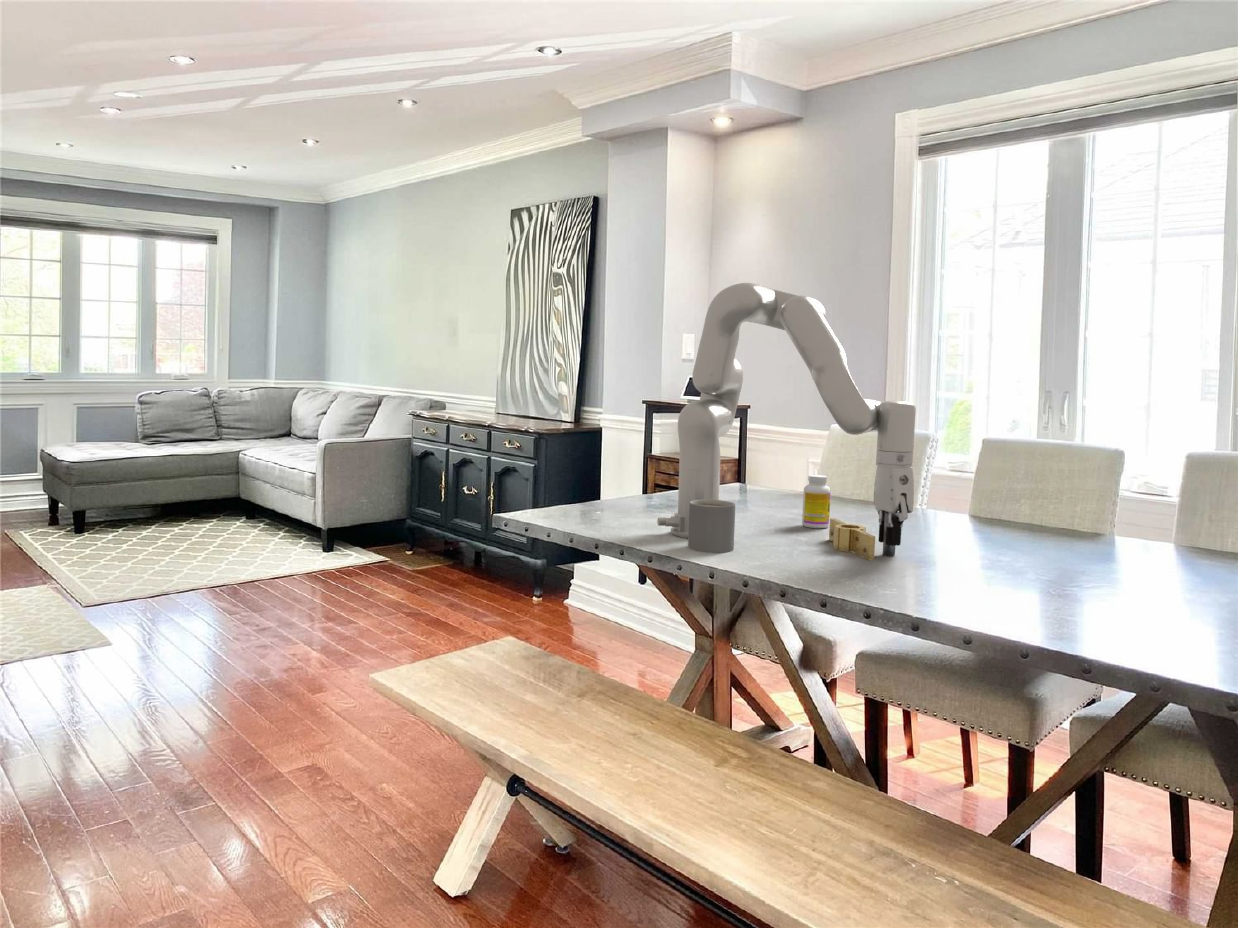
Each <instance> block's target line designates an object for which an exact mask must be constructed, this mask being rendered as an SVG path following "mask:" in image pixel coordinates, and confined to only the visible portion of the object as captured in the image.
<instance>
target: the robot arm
mask: <svg viewBox="0 0 1238 928" xmlns="http://www.w3.org/2000/svg"><path fill="white" fill-rule="evenodd" d="M826 318H827V313H826V309H825V307H824V306H823V304H822V303H821V301H819V300H817V299H815V298H813V297H809V296H807V295H797V294H793V293H789V292H785V291H782V290H781V291H780V290H777V289H773V288H771V287H765V286H763V285H760V284H757V283H752V282H741V283H736V284H732V285H730V286H727V287H725V288H723V289H722V290H720V291H719V292H718V293H717V294H716V295H715V296H714V297H713V299H712V301H711V302H710V303H709V306H708V309H707V311H706V315H705V318H704V324H703V327H702V333H701V337H700V341H699V344H698V349H697V352H696V357H695V361H694V366H693V370H692V378H691V380H692V384H693V386H694V388H695V389H696V390H697V391H698V392H699V393H700V397H699V399H697V400H693V401H690V402H688V403H687V404H685V406H684V407H683V408H682V409H681V411H680V413H679V414H678V419H677V433H678V434H677V436H678V443H679V444H678V445H679V459H678V460H679V463H678V464H679V466H678V468H679V470H678V498H677V499H678V500H677V512H675V513H674V515H673V516H670V517H657V526H658V527H659V526H661V527H662V526H663V527H670V534H671V535H673V536H676V537H680V538H685V539H688V536H689V506H690V502H691V501H694V500H720V483H721V482H720V481H721V479H720V478H721V477H720V476H721V448H720V440H719V439H720V438H721V437H723V436H725V435H726V434H727V433H728V432H729V431H730V430H731V428H732V426H733V424H734V421H735V418H736V417H735V416H736V413H737V409H738V404H739V400H740V397H741V396H740V395H741V392H742V391H741V390H742V386H743V381H744V372H743V368H742V366H741V363H740V362H739V360H737V358H735V357H736V352H737V349H738V344H739V341H740V340H739V339H740V329H741V326H742V324H743V323H745V322H748V323H753V324H759V325H763V326H766V327H770V328H774V329H778V330H781V331H785V332H786V333H787V335H788V337H789V338H790V340H791V342H792V344H793V346H794V347H795V348H796V350H797V352H798V353H799V355H800V357H801V359H802V360H803V362H804V363H805V365H806V367H807V369H808V371H809V373H810V375H811V378H812V380H813V382H814V384H815V386H816V387H815V388H816V389H817V391H818V393H819V395H820V397H821V400H822V401H823V403H824V405H825V407H826V408H827V410H828V411H829V413H830V414H831V415H830V416H832V418H833V420H834V421H835V422H836V424H837V425H838V427H839V428H840V429H841V430H842V431H843V432H845V433H847V434H848V435H852V436H859V435H863V434H867V433H873V432H874V433H875V432H877V439H876V440H877V441H876V457H875V465H876V470H875V478H874V484H873V485H874V488H873V504H874V506H875V508H874V509H875V510H876V511H877V514H878V523H879V524H878V525H879V526H878V542H879V543H883V536H884V519H885V511H886V512H889V521H888V526H889V527H886V545H888V546H895V547H897V546H901V543H902V529H903V527H904V521H906V520H908V518H909V515H908V514H912V513H913V512H914V500H915V498H914V497H915V496H914V494H915V493H914V492H915V488H914V487H915V484H914V483H915V481H914V470H913V460H914V447H915V446H914V444H915V430H916V429H915V428H916V413H917V411H916V410H917V409H916V405H915V403H913V402H911V401H904V400H886V401H882V400H875V399H870V398H864V396H862V393H861V392H860V390H859V389H858V387H857V385H856V384H855V382H854V380H853V378H852V376H851V373H850V370H849V368H848V364H847V355H846V352H845V349H844V348H843V346H842V345H841V343H840V341H839V339H838V338H837V336H836V335H835V333H834V331H833V329H832V328H831V327H830V325H829V323H828V322H827V319H826ZM897 510H899V511H898V512H896V511H897ZM893 516H895V517H894V519H893Z"/></svg>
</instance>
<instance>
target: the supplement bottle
mask: <svg viewBox="0 0 1238 928" xmlns="http://www.w3.org/2000/svg"><path fill="white" fill-rule="evenodd" d="M807 479H808V484H806V485H805V486H804V487H803V495H802V496H803V500H802V502H803V503H802V516H801V517H802V518H801V519H802V520H801V524H802V526H803V527H806V528H809V529H826V528H829V527H830V511H831V493H832V492H831V488H830V486H828V485H827V482H828V476H827V475H824V474H809V475H808V477H807Z"/></svg>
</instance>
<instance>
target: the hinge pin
mask: <svg viewBox="0 0 1238 928" xmlns="http://www.w3.org/2000/svg"><path fill="white" fill-rule="evenodd" d="M896 512H899V510H897V511H896ZM894 517H895V516H893V519H894ZM888 521H889V512H886V511H885V519H884V536H883V542H882V552H881V553H882V556H883V557H891V558H892V557H895V556H896V546H888V545H886V527H889V526H888Z"/></svg>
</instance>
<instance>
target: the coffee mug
mask: <svg viewBox="0 0 1238 928" xmlns="http://www.w3.org/2000/svg"><path fill="white" fill-rule="evenodd" d="M735 523H736V503H734V502H733V501H729V500H723V499H722V500H721V499H719V500H694V501H691V502H690V506H689V536H688V538H687V539H688V540H687V541H688V542H687V548H688V549H689V550H692V551H694V552H700V553H708V554H709V553H710V554H719V553H721V554H723V553H724V554H725V553H730V552H733V551H734V549H735V548H734V547H735V527H736V525H735Z"/></svg>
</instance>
